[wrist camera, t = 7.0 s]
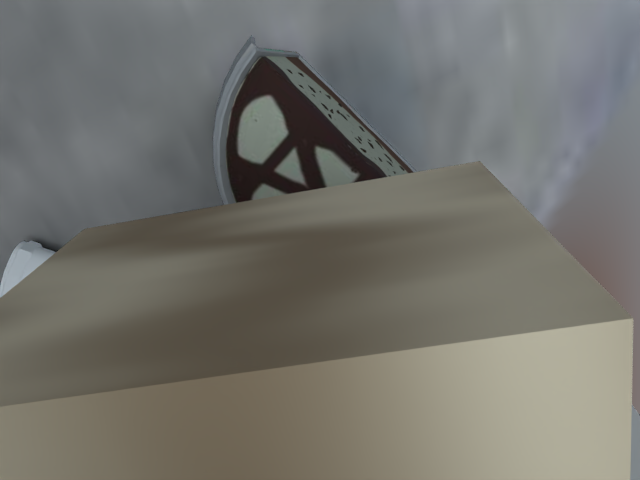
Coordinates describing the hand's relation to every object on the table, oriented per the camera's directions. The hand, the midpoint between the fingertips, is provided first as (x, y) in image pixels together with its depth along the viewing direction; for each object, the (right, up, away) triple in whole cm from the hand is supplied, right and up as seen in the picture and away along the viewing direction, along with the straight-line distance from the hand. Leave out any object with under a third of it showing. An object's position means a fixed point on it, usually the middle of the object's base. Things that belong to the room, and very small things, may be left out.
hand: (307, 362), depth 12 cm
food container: (0, +7, +18) cm, 19 cm away
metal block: (0, 0, +1) cm, 1 cm away
